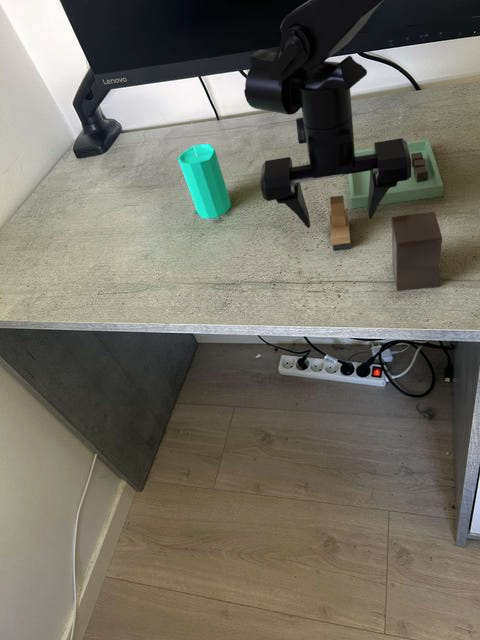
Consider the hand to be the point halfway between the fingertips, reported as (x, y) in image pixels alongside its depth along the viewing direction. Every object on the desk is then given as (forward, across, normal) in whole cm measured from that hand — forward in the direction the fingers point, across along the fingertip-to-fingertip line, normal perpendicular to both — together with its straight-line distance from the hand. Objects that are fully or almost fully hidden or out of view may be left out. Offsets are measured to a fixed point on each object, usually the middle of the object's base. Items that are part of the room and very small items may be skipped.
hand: (338, 221), depth 70 cm
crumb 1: (+2, -13, -15) cm, 20 cm away
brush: (+3, 0, 0) cm, 3 cm away
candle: (+3, +21, -12) cm, 24 cm away
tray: (+3, -8, -13) cm, 16 cm away
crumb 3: (+2, -13, -11) cm, 17 cm away
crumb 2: (+2, -13, -13) cm, 18 cm away
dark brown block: (+3, -9, +10) cm, 13 cm away
